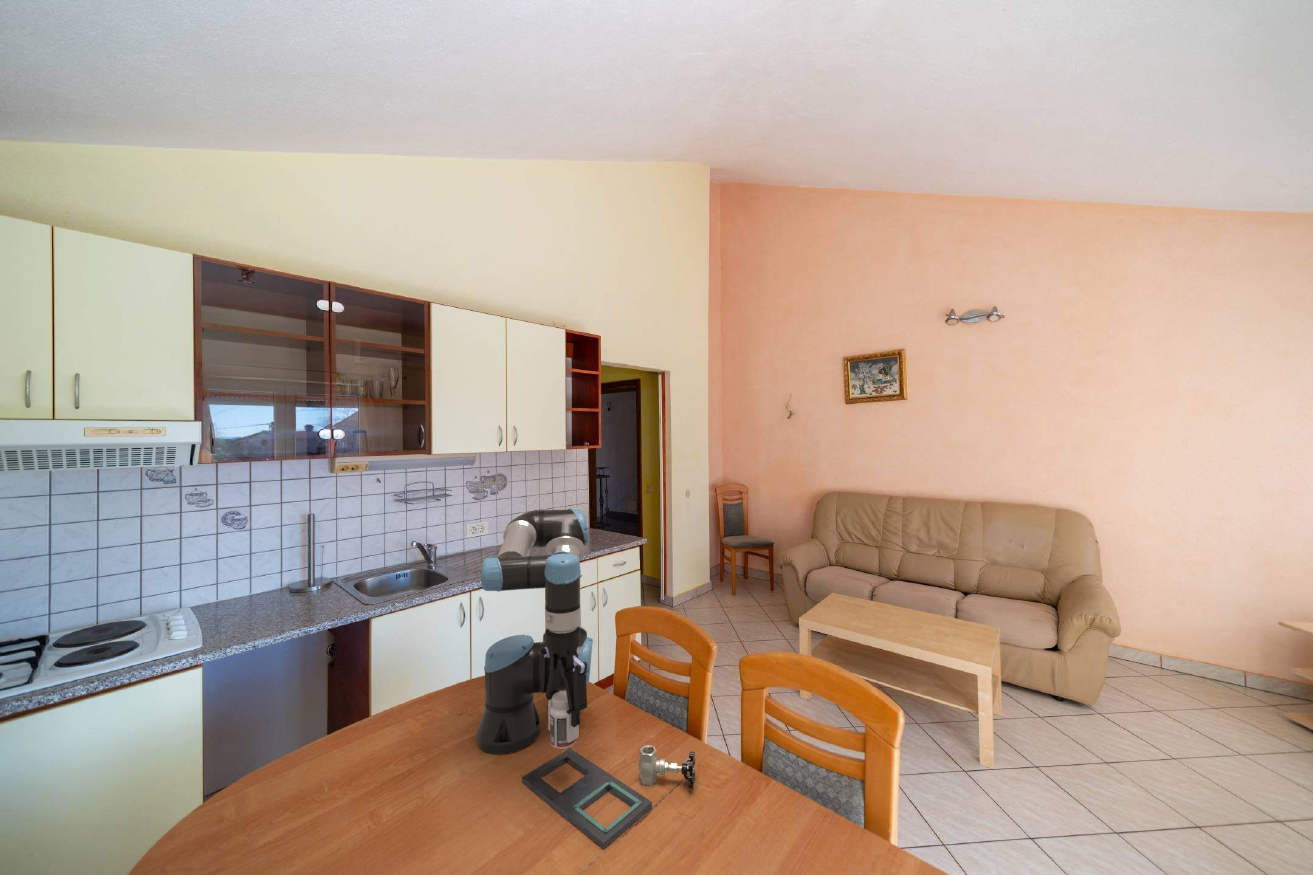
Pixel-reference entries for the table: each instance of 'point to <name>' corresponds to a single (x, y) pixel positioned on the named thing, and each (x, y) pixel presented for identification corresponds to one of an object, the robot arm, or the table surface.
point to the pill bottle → (559, 721)
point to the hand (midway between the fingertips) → (563, 732)
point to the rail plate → (587, 797)
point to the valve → (663, 766)
